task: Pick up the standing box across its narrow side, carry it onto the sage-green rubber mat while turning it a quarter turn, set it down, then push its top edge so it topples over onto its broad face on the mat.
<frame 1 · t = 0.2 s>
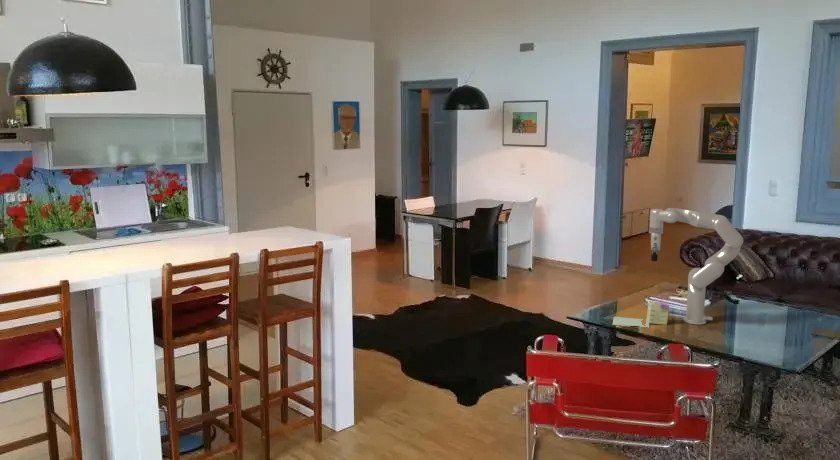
hand: (654, 259, 391), 36 cm above the table, tool pointing down, fingers open, 9 cm apart
box: (656, 322, 388), on the table, touching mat
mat: (630, 322, 389), on the table
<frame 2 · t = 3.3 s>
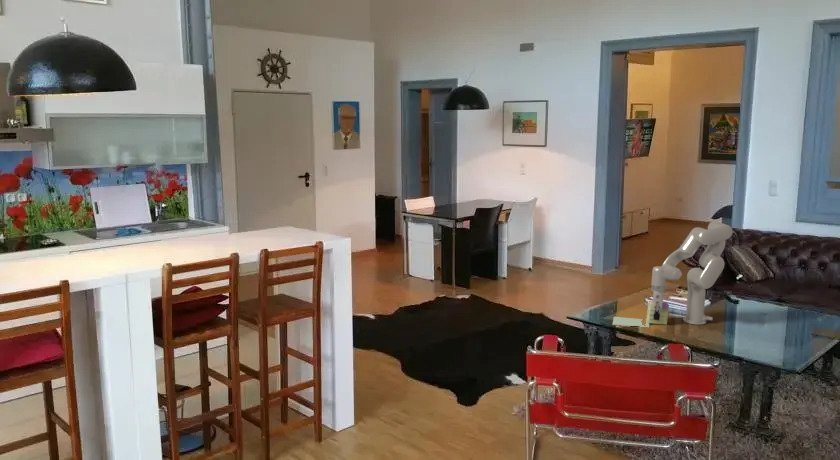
hand: (656, 317, 387), 3 cm above the table, tool pointing down, fingers closed on box, 6 cm apart
box: (656, 322, 388), on the table, touching gripper, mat
when the fingers open (5 cm above the table, at t = 8.7 s): box drops 1 cm, resting on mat.
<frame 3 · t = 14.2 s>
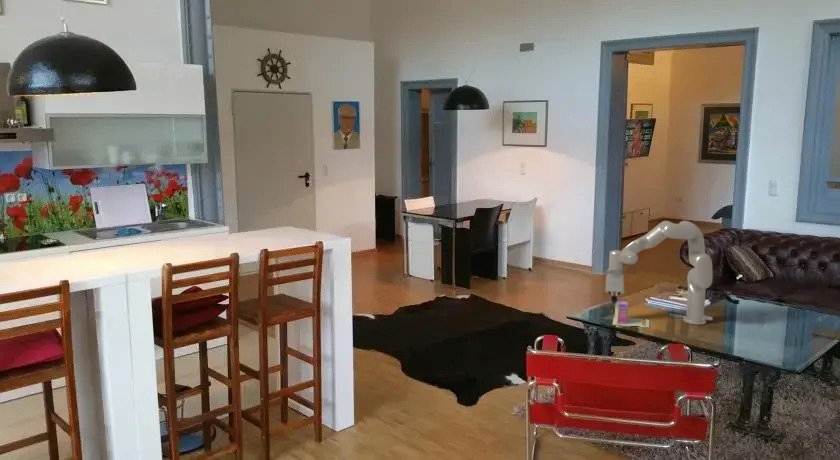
hand: (614, 302, 390), 11 cm above the table, tool pointing down, fingers closed
box: (620, 321, 391), resting on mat, touching gripper
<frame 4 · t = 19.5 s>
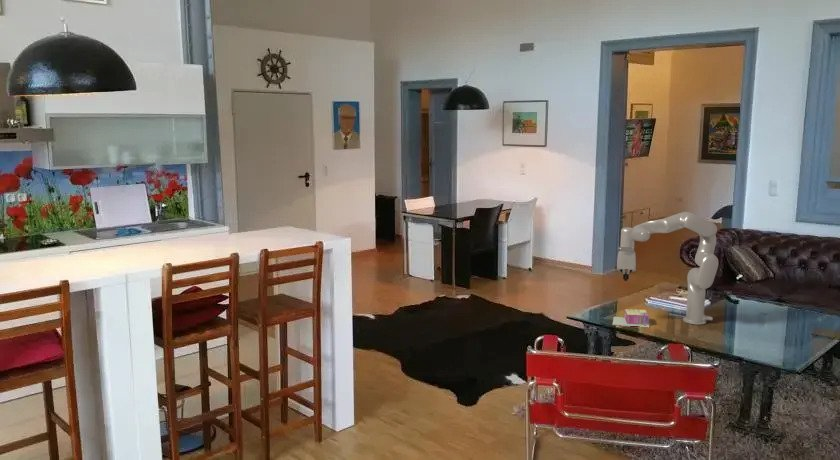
hand: (625, 280, 386), 25 cm above the table, tool pointing down, fingers closed
box: (625, 316, 390), point 3 cm above the table, touching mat
at the end: box tilted 89°; box inside the target area on the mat (3.2 cm from its centre), point 3.3 cm above the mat's base; the gripper is holding nothing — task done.
